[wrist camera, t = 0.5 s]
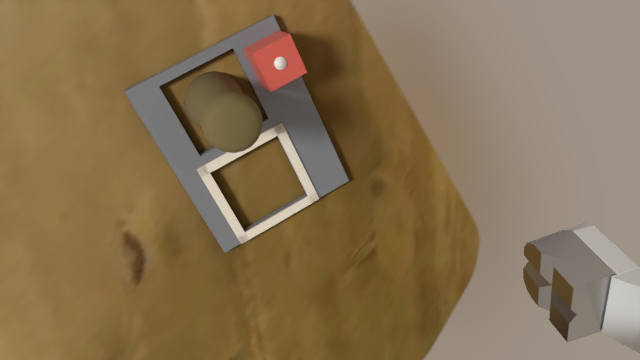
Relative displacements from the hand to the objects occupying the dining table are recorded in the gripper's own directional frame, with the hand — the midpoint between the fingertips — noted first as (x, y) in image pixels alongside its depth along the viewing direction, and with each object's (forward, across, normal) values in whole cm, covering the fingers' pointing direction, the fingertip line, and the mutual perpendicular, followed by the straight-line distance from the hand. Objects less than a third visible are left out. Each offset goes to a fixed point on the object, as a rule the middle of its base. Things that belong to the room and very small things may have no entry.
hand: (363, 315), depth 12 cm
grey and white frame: (+42, +2, +18) cm, 45 cm away
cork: (+43, +4, +13) cm, 45 cm away
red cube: (+43, -3, +11) cm, 44 cm away
